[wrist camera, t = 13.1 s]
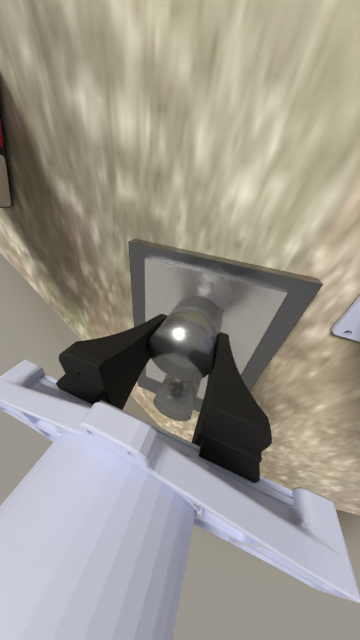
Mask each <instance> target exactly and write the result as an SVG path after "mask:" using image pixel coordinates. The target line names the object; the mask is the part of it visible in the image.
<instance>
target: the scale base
mask: <svg viewBox="0 0 360 640" xmlns="http://www.w3.org/2000/svg"><path fill="white" fill-rule="evenodd" d="M128 242H129V257H130V272H131V287H132V302H133V317H134V327H136V326H138V325H140V324H143V323H144V322H145V258H147V257H150V258H154V259H158V260H163V261H167V262H171V263H175V264H179V265H184V266H188V267H192V268H196V269H200V270H205V271H209V272H213V273H217V274H221V275H226V276H230V277H234V278H238V279H243V280H247V281H251V282H255V283H259V284H264V285H268V286H272V287H276V288H280V289H285V290H286V291H287V295H286V297H285V298H284V300H283V302H282V304H281V305H280V307H279V309H278V311H277V312H276V314H275V316H274V318H273V319H272V321H271V323H270V325H269V326H268V328H267V330H266V332H265V333H264V335H263V337H262V338H261V340H260V342H259V344H258V345H257V347H256V349H255V351H254V352H253V354H252V356H251V358H250V359H249V361H248V363H247V365H246V366H245V368H244V370H243V372H242V373H241V377H242V379H243V381H244V383H245V385H246V387H247V388H248V390H250V389H251V388H252V386H253V385H254V383H255V382H256V380H257V379H258V377H259V376H260V375H261V373H262V372H263V370H264V369H265V367H266V366H267V365H268V363H269V362H270V360H271V359H272V357H273V356H274V354H275V353H276V352H277V350H278V349H279V347H280V346H281V344H282V343H283V341H284V340H285V339H286V337H287V336H288V334H289V333H290V331H291V330H292V329H293V327H294V326H295V324H296V323H297V321H298V320H299V318H300V317H301V316H302V314H303V313H304V311H305V310H306V308H307V307H308V305H309V304H310V303H311V301H312V300H313V298H314V297H315V295H316V294H317V293H318V291H319V290H320V288H321V287H322V285H323V284H322V283H321V282H320V280H319V279H317V278H312V277H308V276H303V275H299V274H294V273H289V272H285V271H280V270H275V269H271V268H266V267H262V266H257V265H252V264H248V263H243V262H238V261H234V260H229V259H225V258H220V257H215V256H211V255H206V254H202V253H197V252H192V251H188V250H183V249H178V248H174V247H169V246H165V245H160V244H155V243H151V242H146V241H141V240H137V239H135V240H131V241H128ZM161 384H162V383H161V382H159V381H157V380H154V379H152V378H149V377H147V376H146V366H145V367H144V369H143V371H142V373H141V374H140V376H139V378H138V386H139V387H142V388H144V389H147V390H149V391H151V392H154V393H156V394H157V392H158V390H159V388H160V386H161ZM202 403H203V399H201V398H198V397H197V398H196V401H195V405H194V408H193V409H194V410H196V411H198V412H200V410H201V406H202Z"/></svg>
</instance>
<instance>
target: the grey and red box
mask: <svg viewBox="0 0 360 640" xmlns="http://www.w3.org/2000/svg"><path fill="white" fill-rule="evenodd" d="M11 205H12V201H11V193H10V185H9V178H8V170H7V162H6V154H5V146H4V139H3V131H2V123H1V115H0V208H9V207H11Z"/></svg>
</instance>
